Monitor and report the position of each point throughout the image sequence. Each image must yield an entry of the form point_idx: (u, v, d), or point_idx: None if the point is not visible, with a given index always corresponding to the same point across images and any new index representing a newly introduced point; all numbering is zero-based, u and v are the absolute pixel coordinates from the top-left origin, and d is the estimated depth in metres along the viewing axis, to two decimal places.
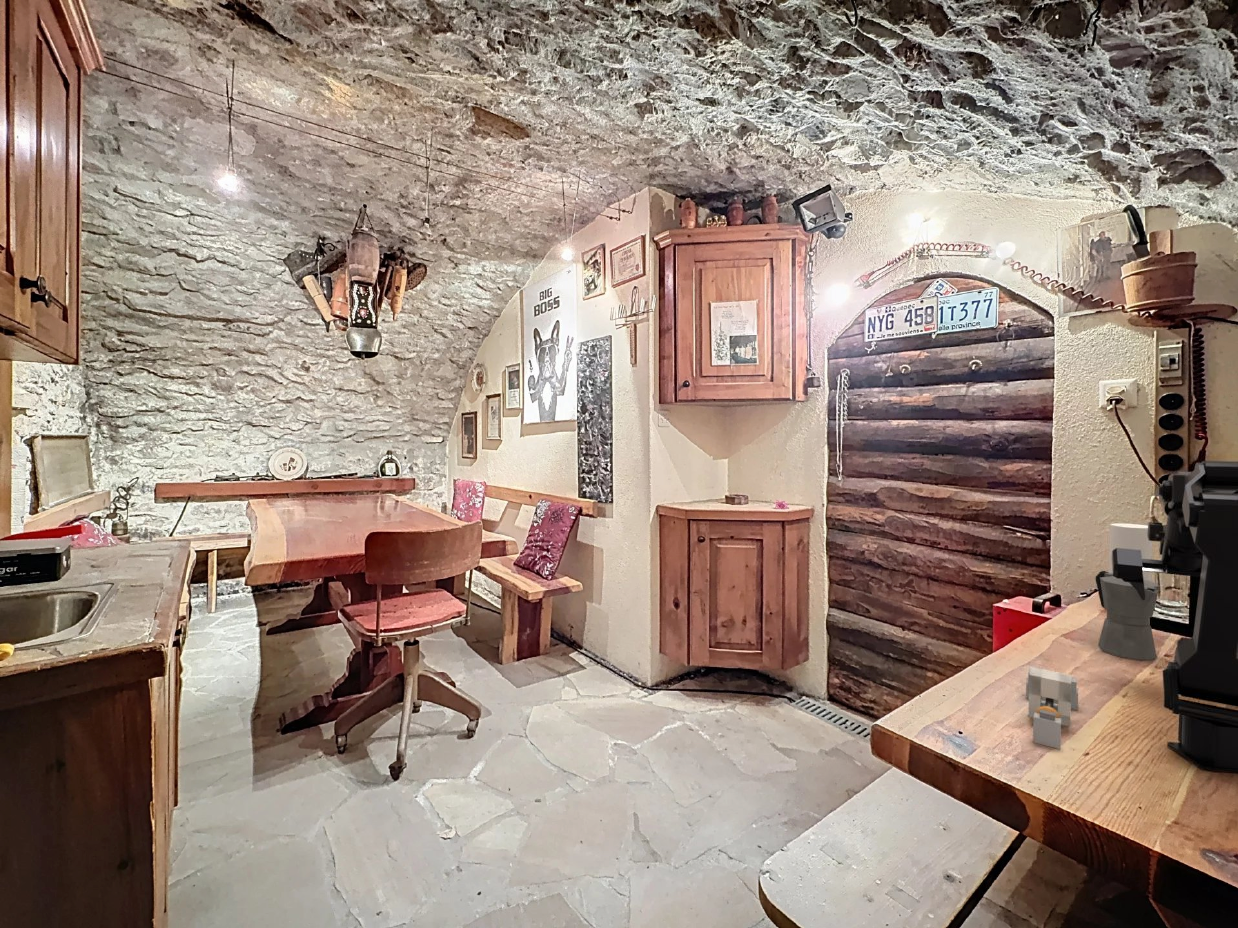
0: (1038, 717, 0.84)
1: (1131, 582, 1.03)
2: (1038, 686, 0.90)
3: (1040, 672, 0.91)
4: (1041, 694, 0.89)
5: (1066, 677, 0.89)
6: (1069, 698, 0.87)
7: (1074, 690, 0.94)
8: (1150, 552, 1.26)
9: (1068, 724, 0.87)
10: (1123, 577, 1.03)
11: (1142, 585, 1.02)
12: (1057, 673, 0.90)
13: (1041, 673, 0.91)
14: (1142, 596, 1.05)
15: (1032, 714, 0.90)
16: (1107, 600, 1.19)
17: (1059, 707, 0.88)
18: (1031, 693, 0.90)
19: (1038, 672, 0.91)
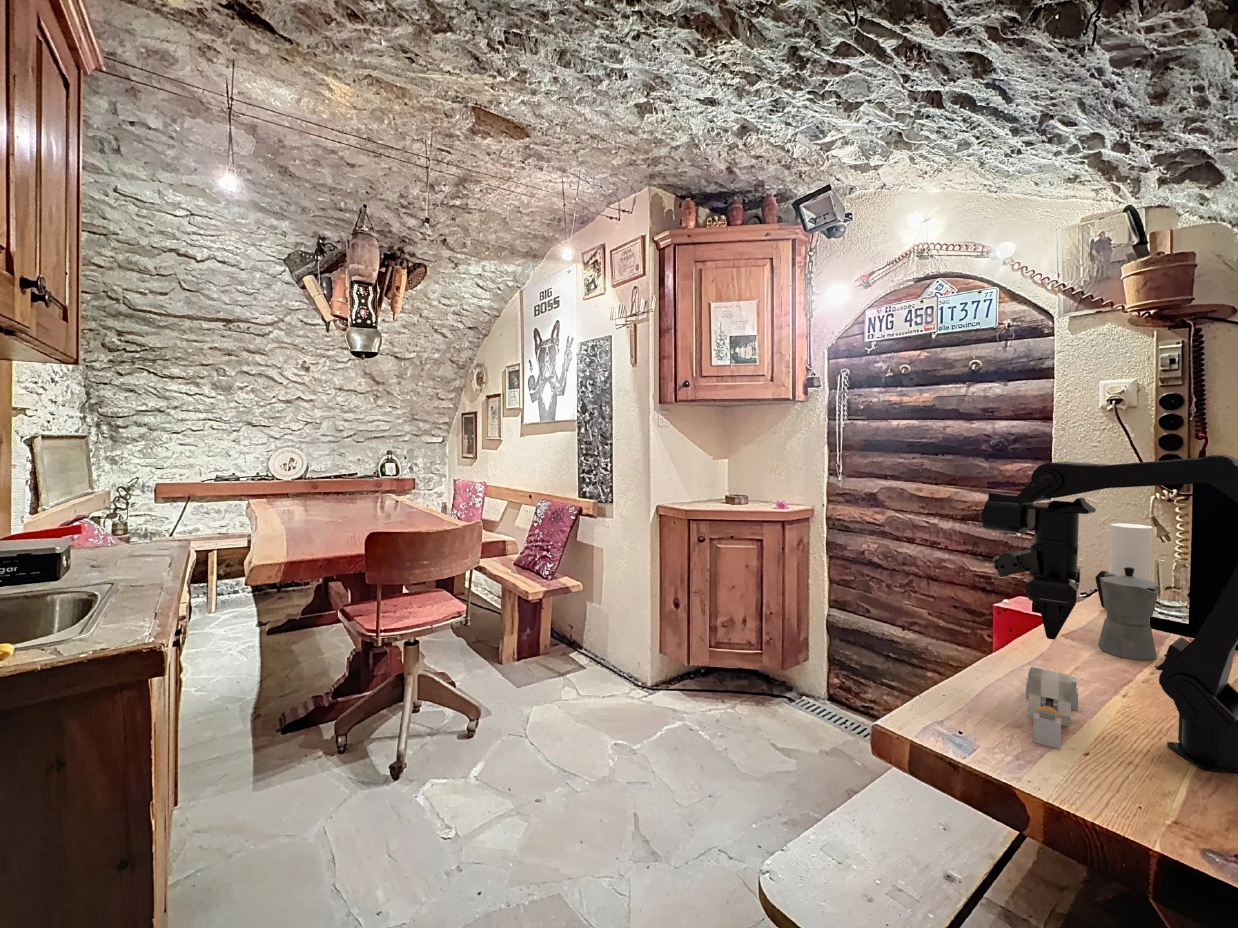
0: (1038, 717, 0.84)
1: (1074, 605, 0.87)
2: (1038, 686, 0.90)
3: (1040, 672, 0.91)
4: (1041, 694, 0.89)
5: (1066, 677, 0.89)
6: (1069, 698, 0.87)
7: (1074, 690, 0.94)
8: (1150, 552, 1.26)
9: (1068, 724, 0.87)
10: (1076, 599, 0.86)
11: None
12: (1057, 673, 0.90)
13: (1041, 673, 0.91)
14: (1059, 630, 0.90)
15: (1032, 714, 0.90)
16: (1107, 600, 1.19)
17: (1059, 707, 0.88)
18: (1031, 693, 0.90)
19: (1038, 672, 0.91)
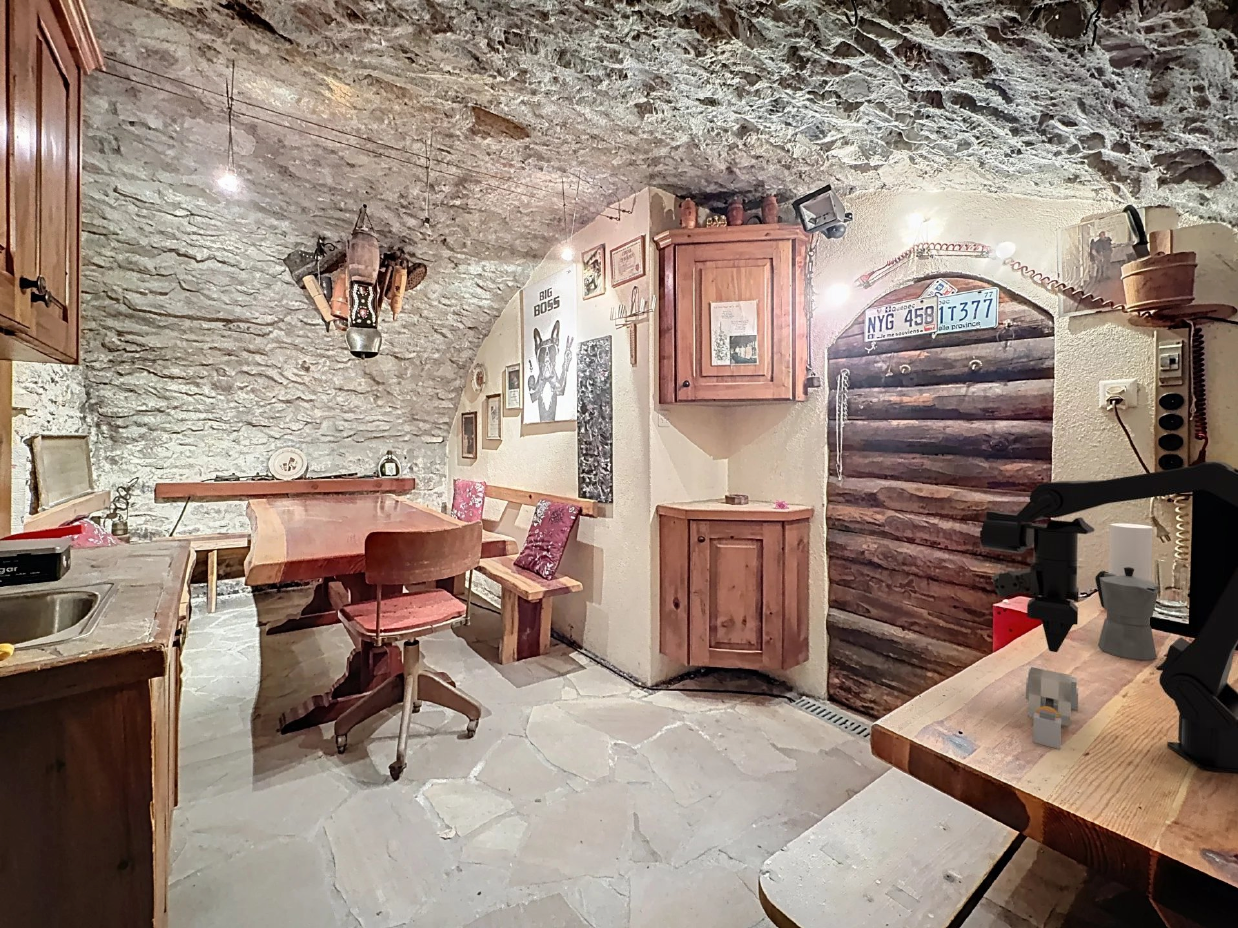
0: (1038, 717, 0.84)
1: None
2: (1038, 686, 0.90)
3: (1040, 672, 0.91)
4: (1041, 694, 0.89)
5: (1066, 677, 0.89)
6: (1069, 698, 0.87)
7: (1074, 690, 0.94)
8: (1150, 552, 1.26)
9: (1068, 724, 0.87)
10: None
11: None
12: (1057, 673, 0.90)
13: (1041, 673, 0.91)
14: (1061, 643, 0.93)
15: (1032, 714, 0.90)
16: (1107, 600, 1.19)
17: (1059, 707, 0.88)
18: (1031, 693, 0.90)
19: (1038, 672, 0.91)
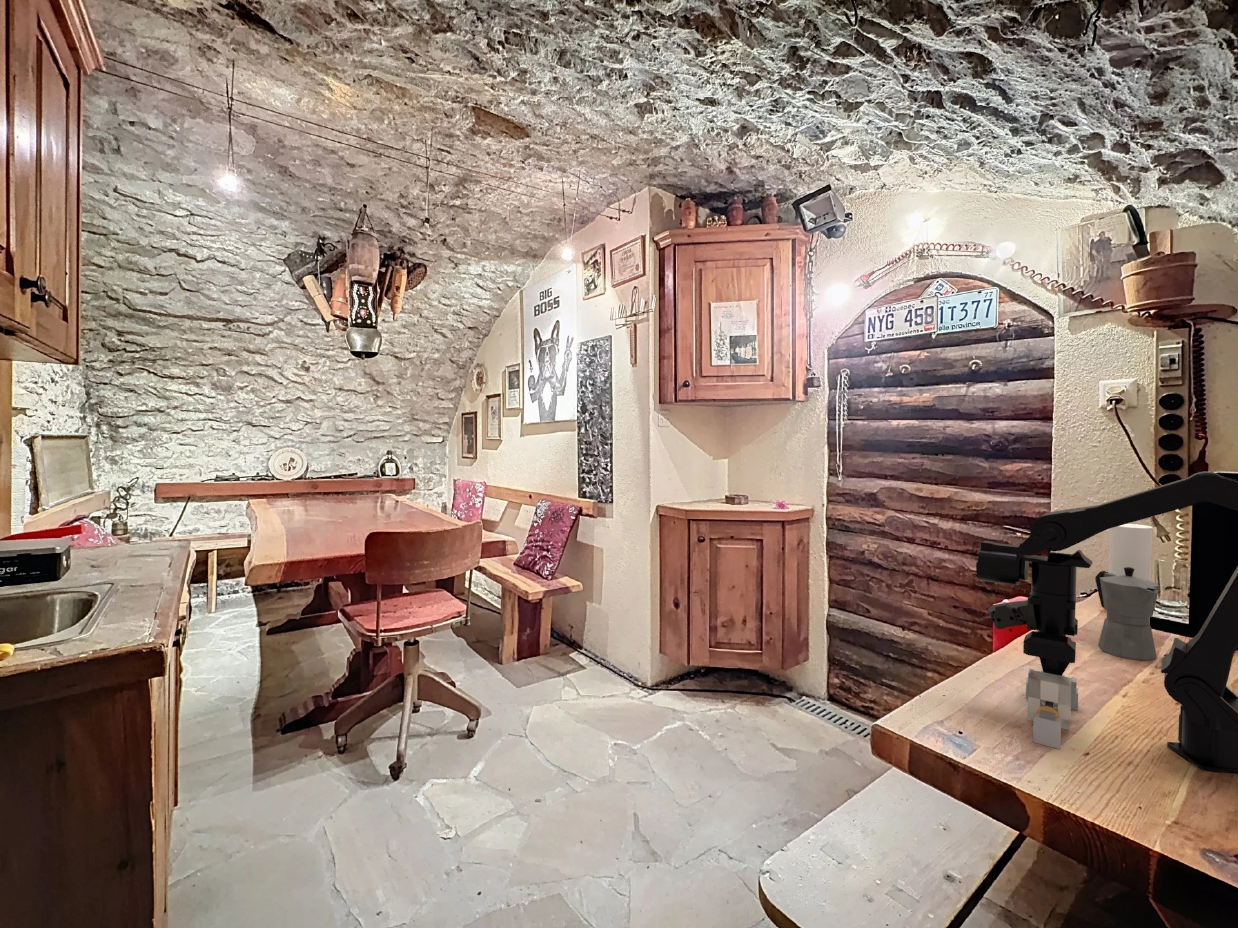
0: (1038, 717, 0.84)
1: None
2: (1037, 689, 0.88)
3: (1039, 674, 0.90)
4: (1040, 697, 0.88)
5: (1066, 680, 0.88)
6: (1069, 701, 0.86)
7: (1074, 690, 0.94)
8: (1150, 552, 1.26)
9: (1068, 728, 0.86)
10: None
11: None
12: (1057, 676, 0.89)
13: (1041, 676, 0.90)
14: None
15: (1031, 717, 0.89)
16: (1107, 600, 1.19)
17: (1059, 710, 0.87)
18: (1030, 696, 0.89)
19: (1037, 675, 0.90)
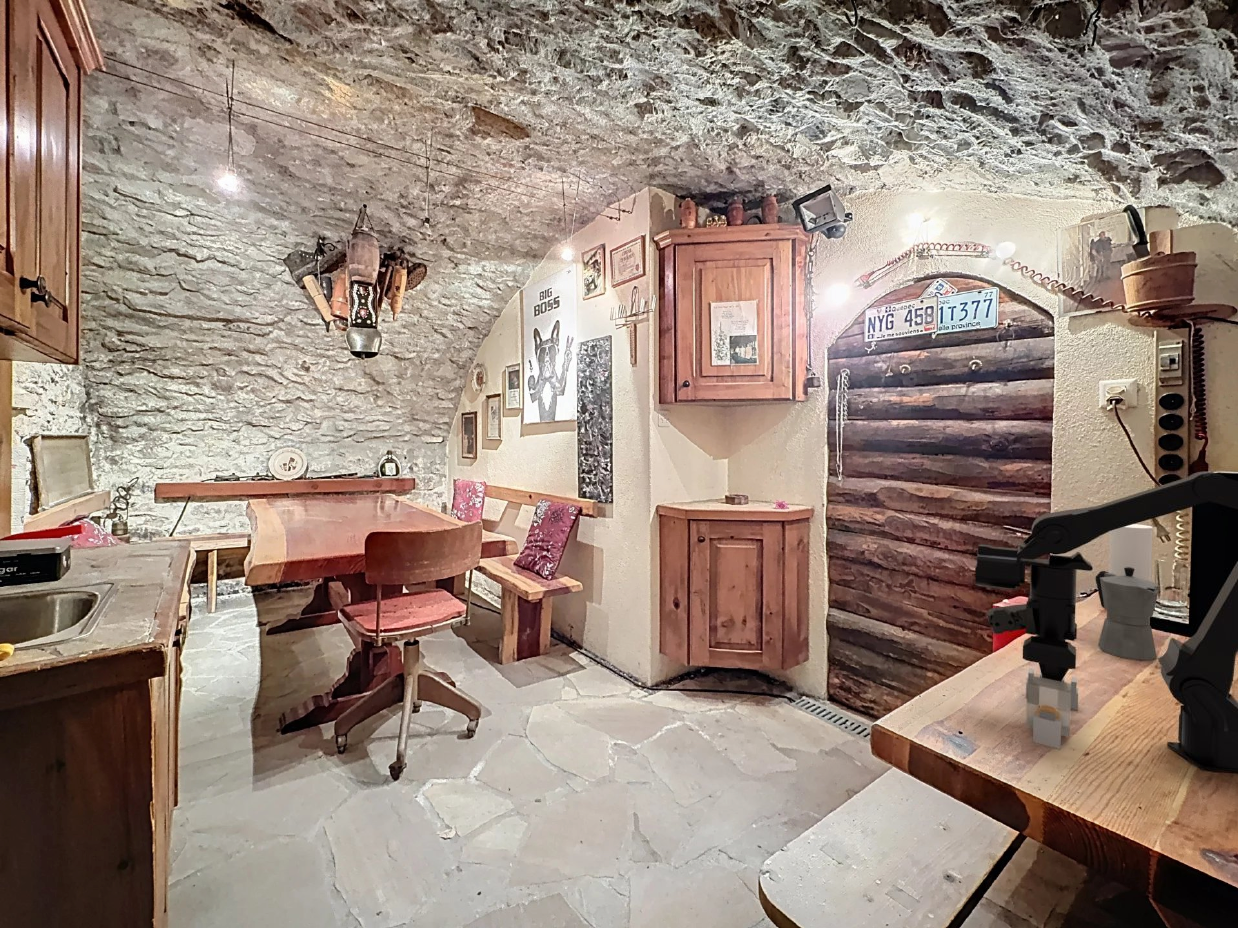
0: (1038, 717, 0.84)
1: None
2: (1036, 695, 0.86)
3: (1038, 680, 0.88)
4: (1039, 704, 0.86)
5: (1065, 686, 0.86)
6: (1069, 708, 0.84)
7: (1074, 690, 0.94)
8: (1150, 552, 1.26)
9: (1067, 735, 0.84)
10: None
11: None
12: (1056, 682, 0.87)
13: (1040, 682, 0.88)
14: None
15: (1030, 724, 0.87)
16: (1107, 600, 1.19)
17: None
18: (1029, 703, 0.87)
19: (1036, 681, 0.88)
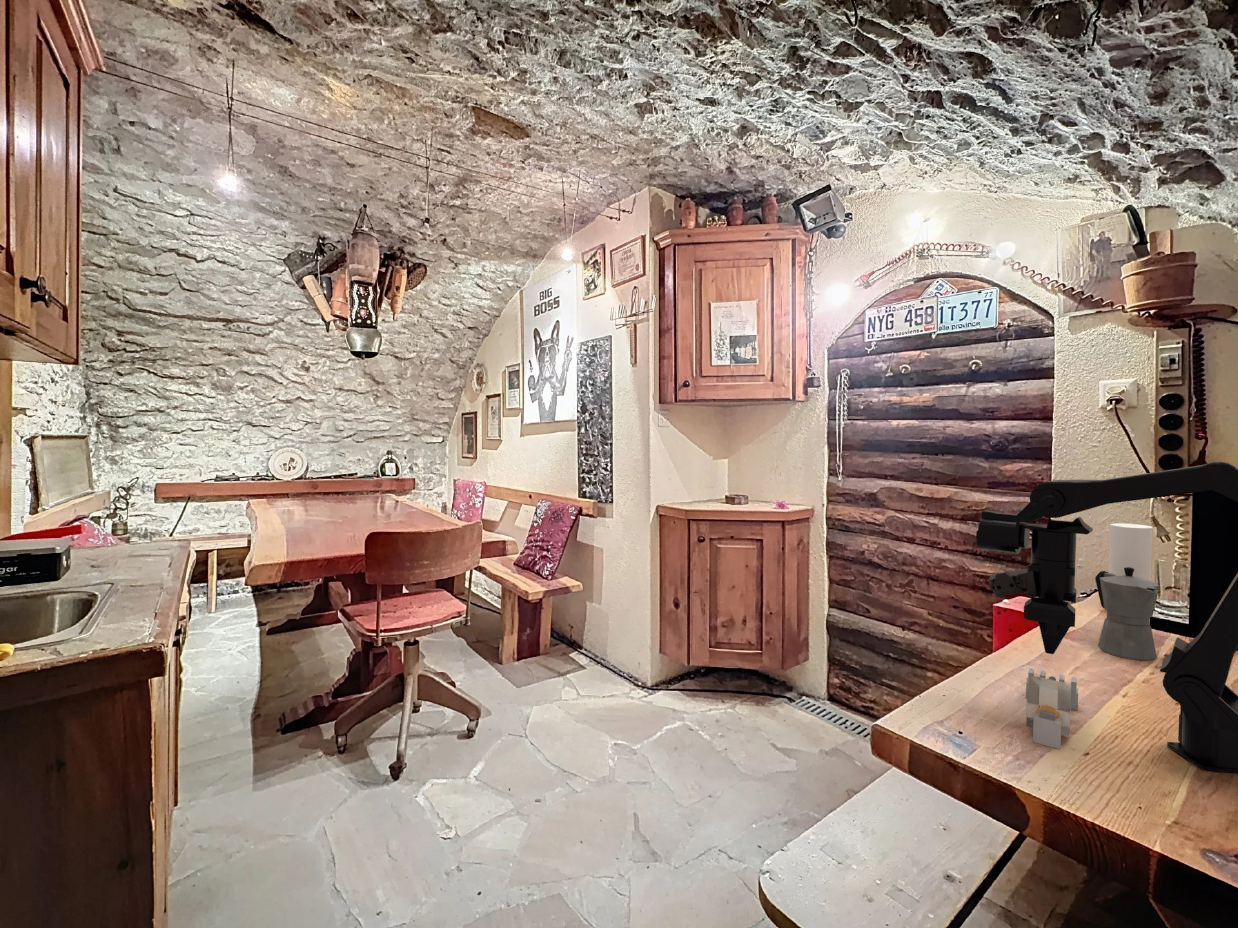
0: (1038, 717, 0.84)
1: None
2: (1036, 695, 0.86)
3: (1038, 680, 0.88)
4: (1039, 704, 0.86)
5: (1065, 686, 0.86)
6: (1068, 708, 0.84)
7: (1074, 690, 0.94)
8: (1150, 552, 1.26)
9: (1067, 735, 0.84)
10: None
11: None
12: (1056, 682, 0.87)
13: (1040, 682, 0.88)
14: (1058, 645, 0.91)
15: (1030, 724, 0.87)
16: (1107, 600, 1.19)
17: None
18: (1029, 703, 0.87)
19: (1036, 681, 0.88)
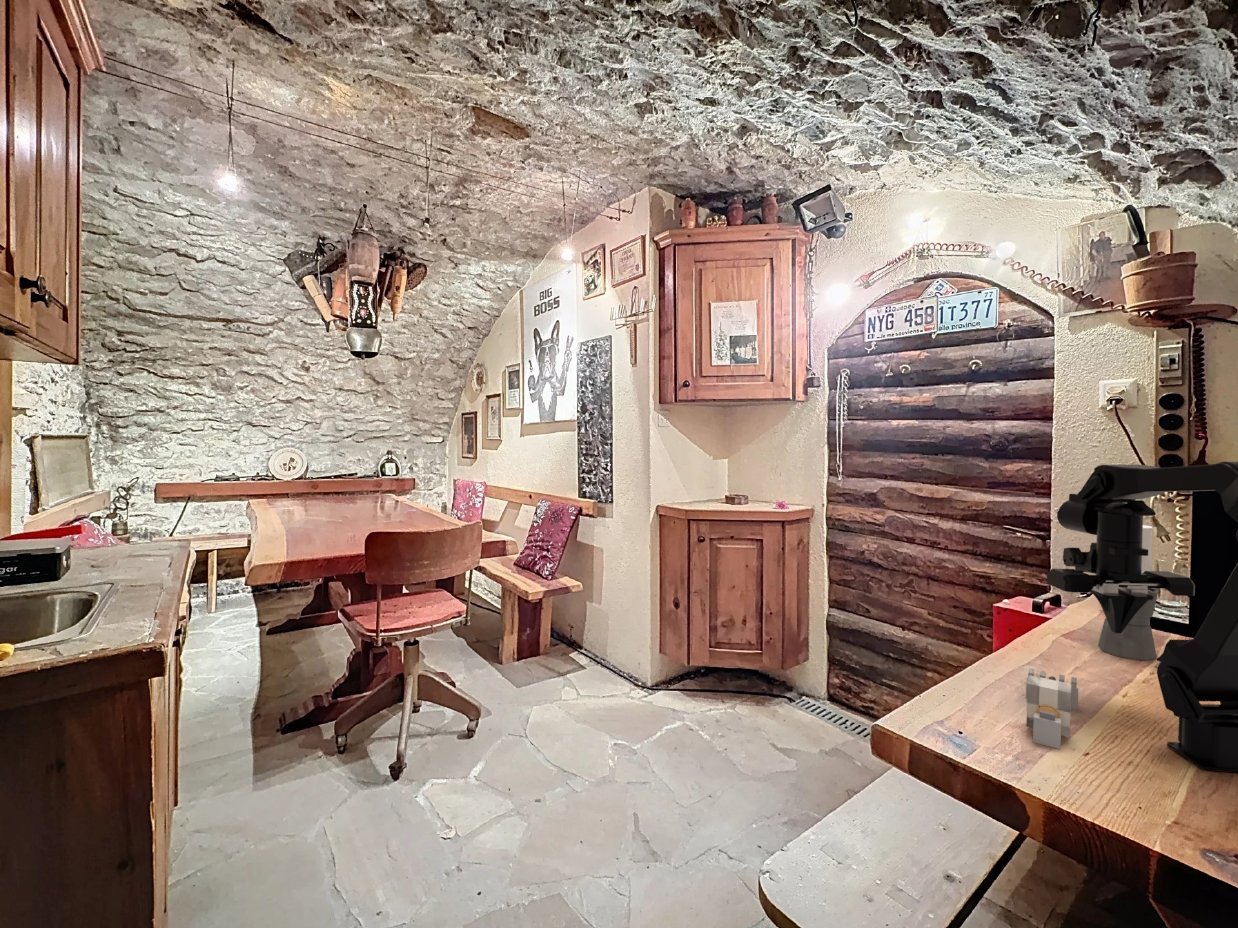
0: (1038, 717, 0.84)
1: (1113, 598, 0.92)
2: (1036, 695, 0.86)
3: (1038, 680, 0.88)
4: (1039, 704, 0.86)
5: (1065, 686, 0.86)
6: (1068, 708, 0.84)
7: (1074, 690, 0.94)
8: (1150, 552, 1.26)
9: (1067, 735, 0.84)
10: (1076, 589, 0.93)
11: (1123, 602, 0.92)
12: (1056, 682, 0.87)
13: (1040, 682, 0.88)
14: (1118, 625, 0.94)
15: (1030, 724, 0.87)
16: None
17: None
18: (1029, 703, 0.87)
19: (1036, 681, 0.88)
